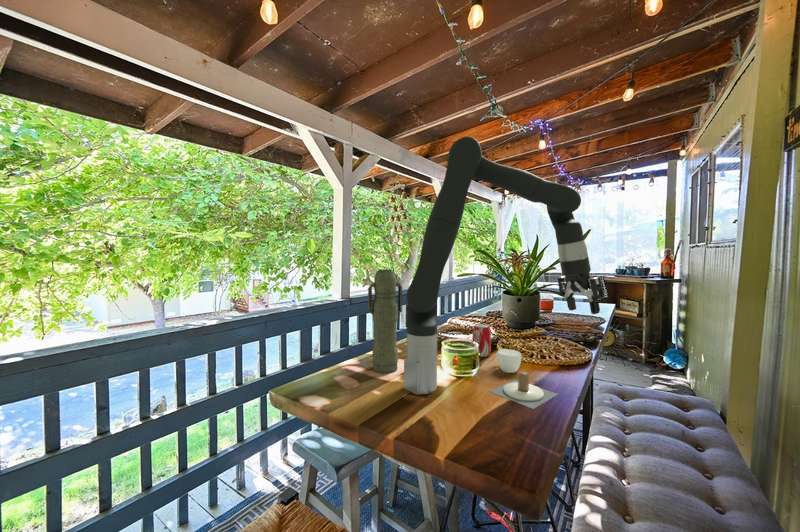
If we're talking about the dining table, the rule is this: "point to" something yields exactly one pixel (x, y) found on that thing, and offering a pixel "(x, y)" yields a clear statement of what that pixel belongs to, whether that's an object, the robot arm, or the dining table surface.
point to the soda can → (482, 338)
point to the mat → (530, 404)
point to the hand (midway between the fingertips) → (583, 311)
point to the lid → (523, 389)
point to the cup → (508, 360)
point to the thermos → (385, 320)
